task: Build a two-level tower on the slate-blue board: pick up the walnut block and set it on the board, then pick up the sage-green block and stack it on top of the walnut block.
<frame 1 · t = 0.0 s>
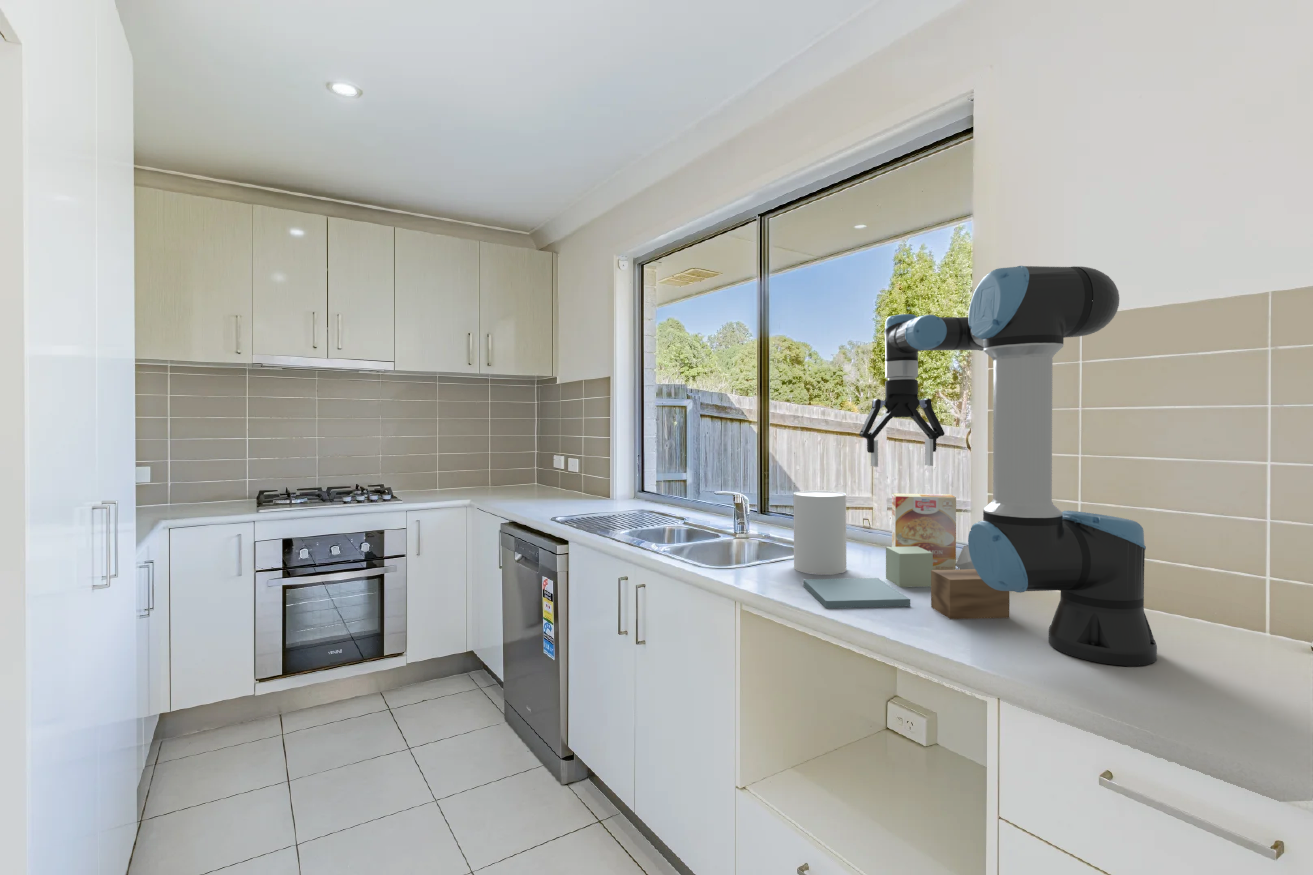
hand: (901, 465, 156), 28 cm above the countertop, tool pointing down, fingers open, 13 cm apart
walnut block: (969, 612, 130), on the countertop
die: (977, 579, 156), on the countertop
sage block: (908, 582, 154), on the countertop
coffeecake box: (923, 568, 168), on the countertop
base board: (853, 595, 143), on the countertop
canister: (819, 569, 169), on the countertop
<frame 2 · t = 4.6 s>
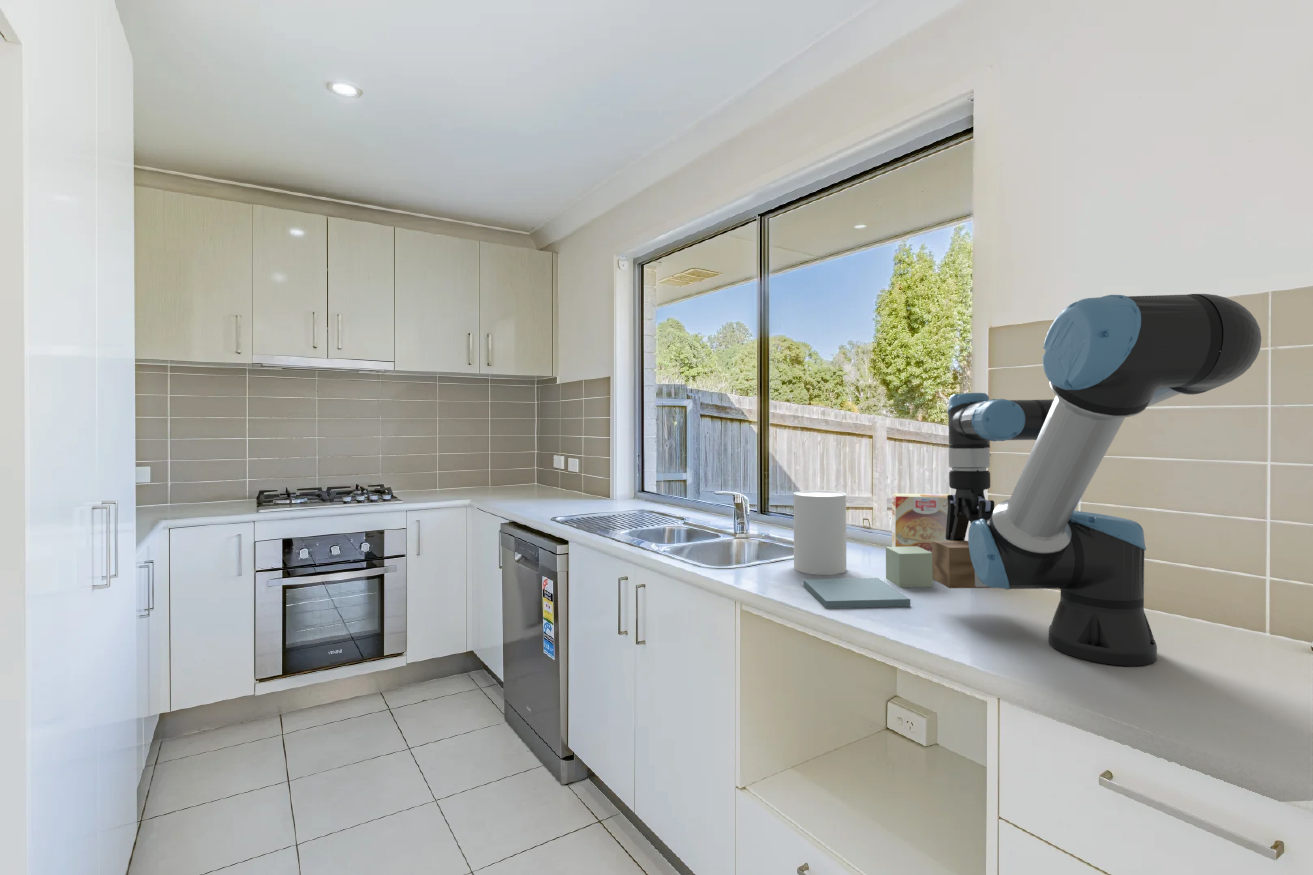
hand: (970, 581, 129), 7 cm above the countertop, tool pointing down, fingers closed on walnut block, 8 cm apart
walnut block: (970, 583, 129), point 6 cm above the countertop, touching gripper
everything else where it was.
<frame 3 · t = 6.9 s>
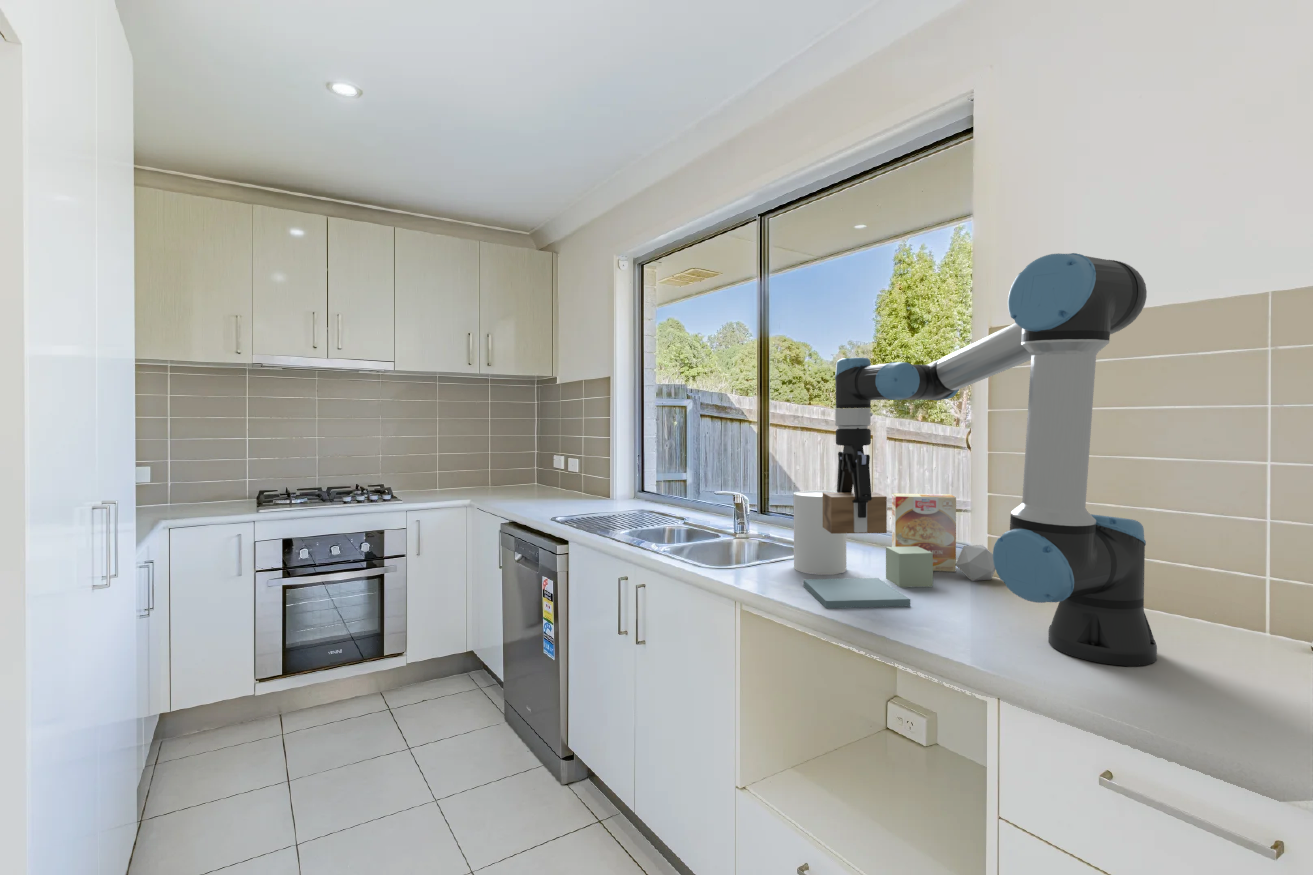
hand: (853, 528, 143), 15 cm above the countertop, tool pointing down, fingers closed on walnut block, 8 cm apart
walnut block: (853, 530, 143), point 15 cm above the countertop, touching gripper
everything else where it was.
when the fingers open (3 cm above the countertop, at t = 9.5 s): walnut block stays where it is, resting on base board.
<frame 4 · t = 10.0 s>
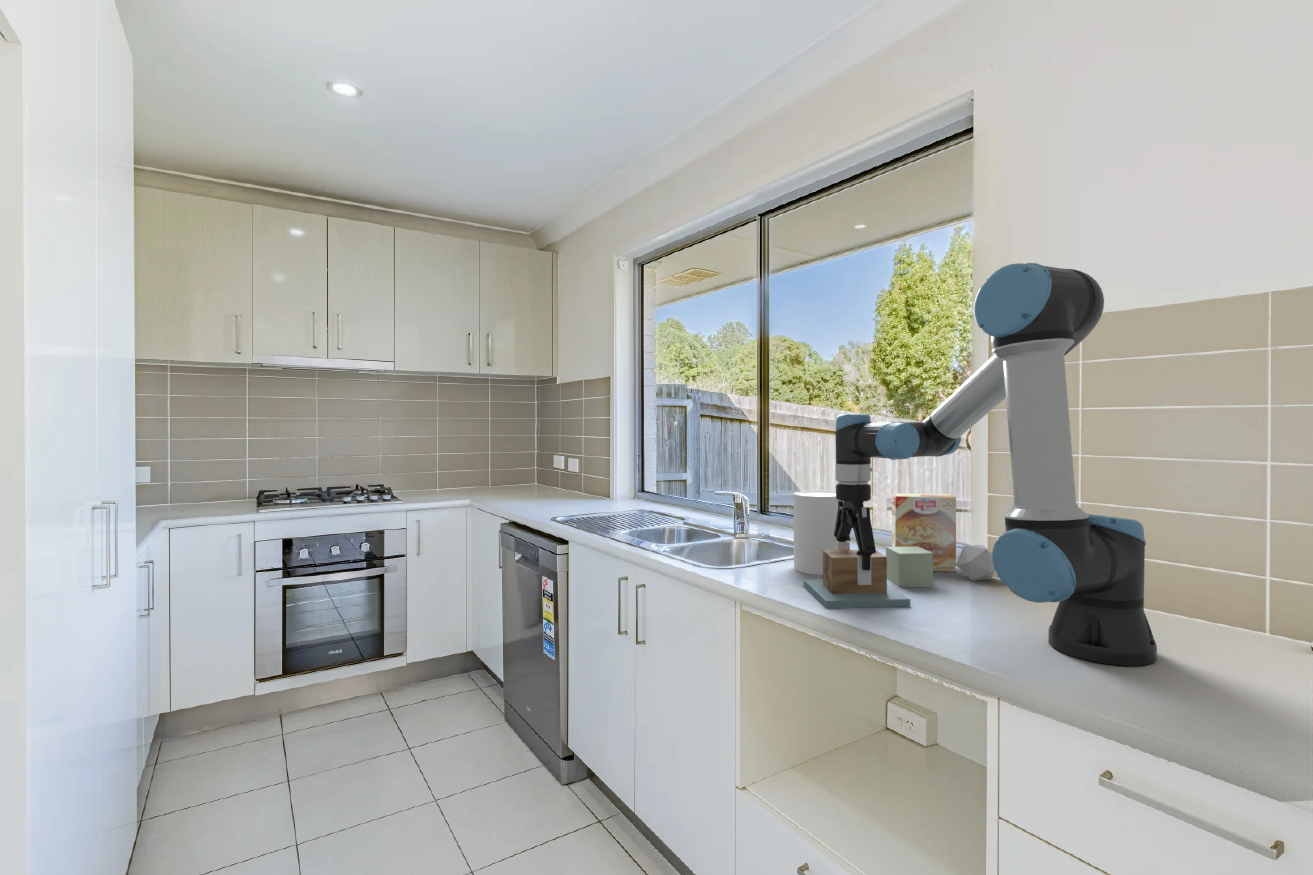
hand: (853, 576, 143), 4 cm above the countertop, tool pointing down, fingers open, 13 cm apart
walnut block: (853, 588, 143), point 1 cm above the countertop, touching base board
everything else where it was.
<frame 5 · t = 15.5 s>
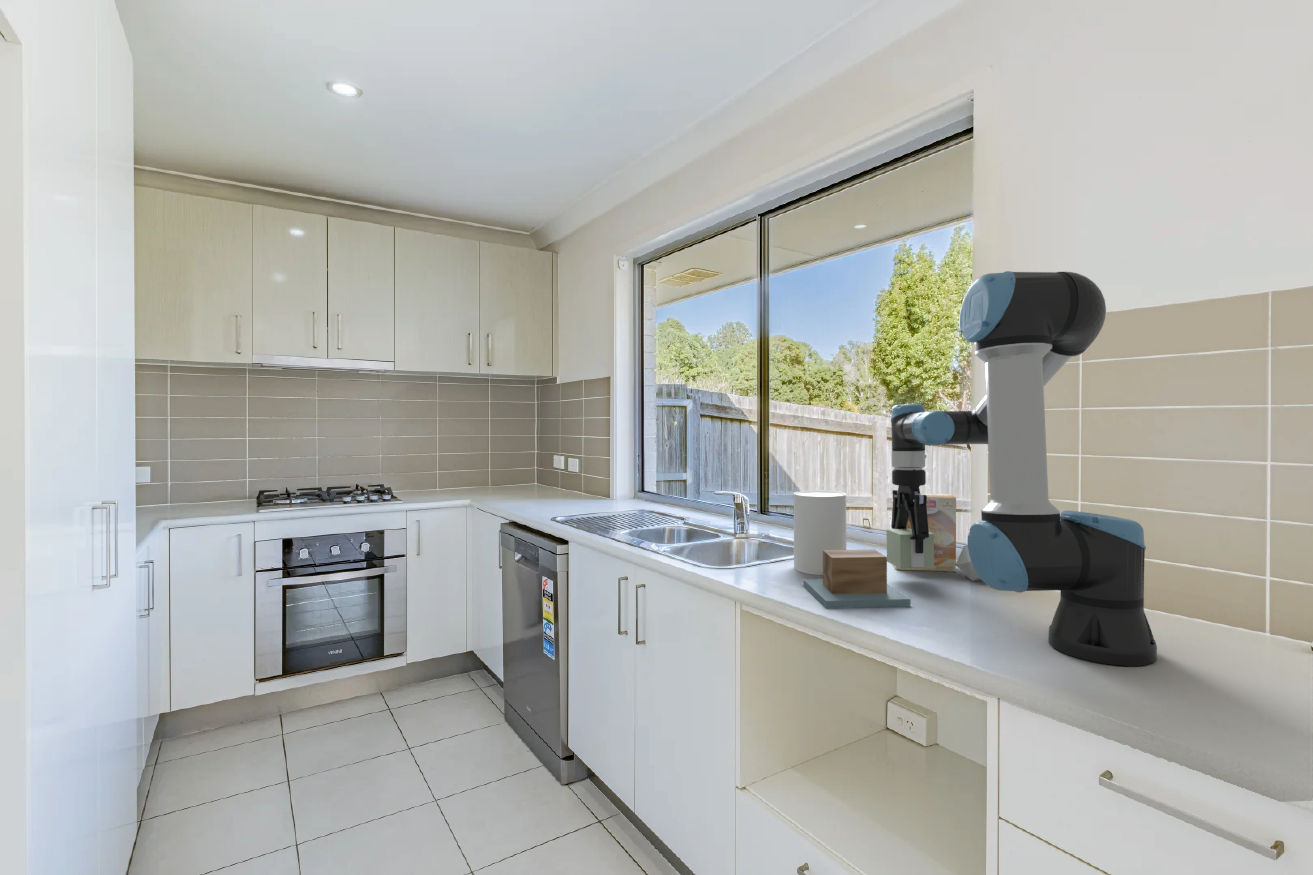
hand: (909, 562, 153), 5 cm above the countertop, tool pointing down, fingers closed on sage block, 8 cm apart
sage block: (909, 564, 153), point 4 cm above the countertop, touching gripper
everything else where it was.
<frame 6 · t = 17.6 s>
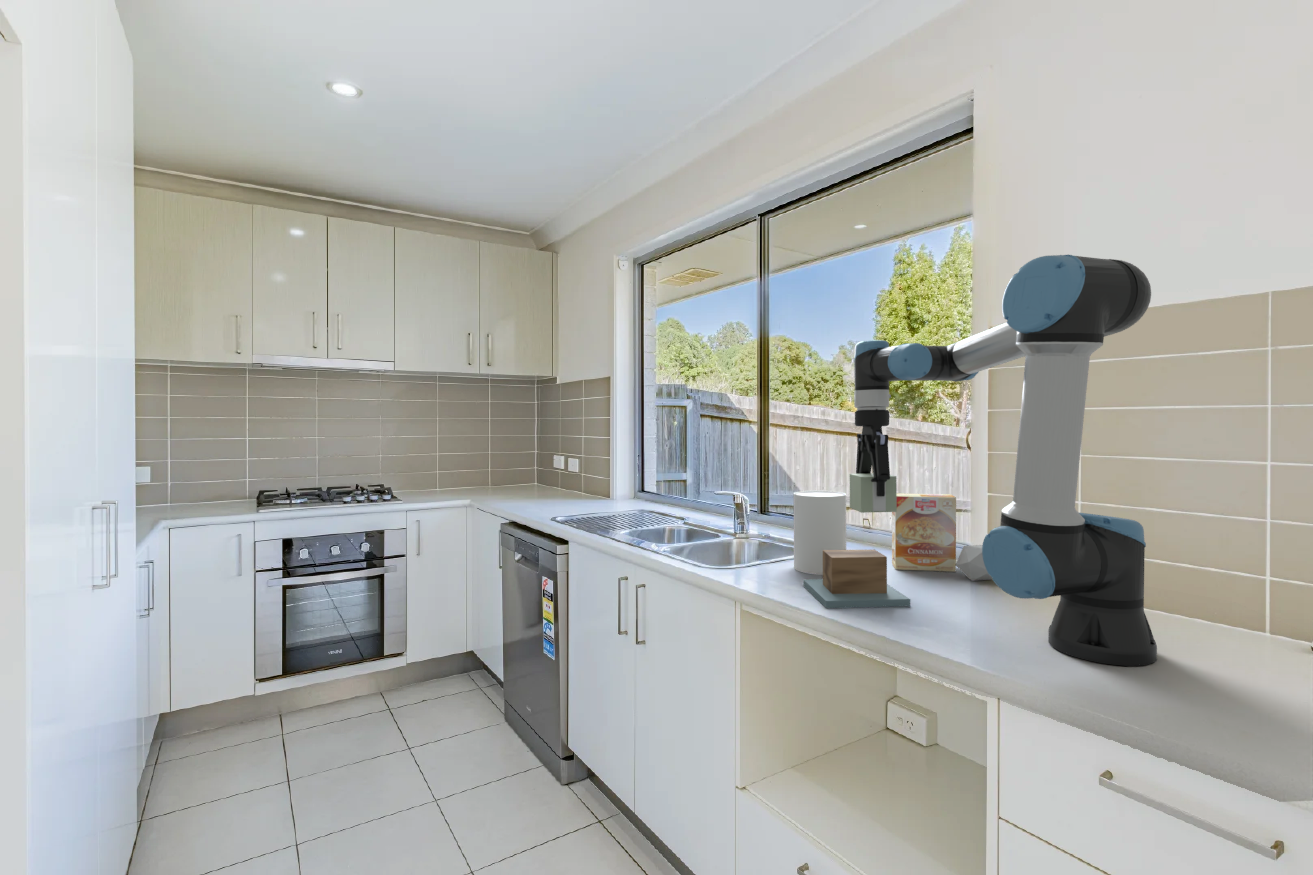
hand: (872, 507, 146), 19 cm above the countertop, tool pointing down, fingers closed on sage block, 8 cm apart
sage block: (872, 509, 146), point 19 cm above the countertop, touching gripper
everything else where it was.
when the fingers open (11 cm above the countertop, at t = 20.2 s): sage block stays where it is, resting on walnut block.
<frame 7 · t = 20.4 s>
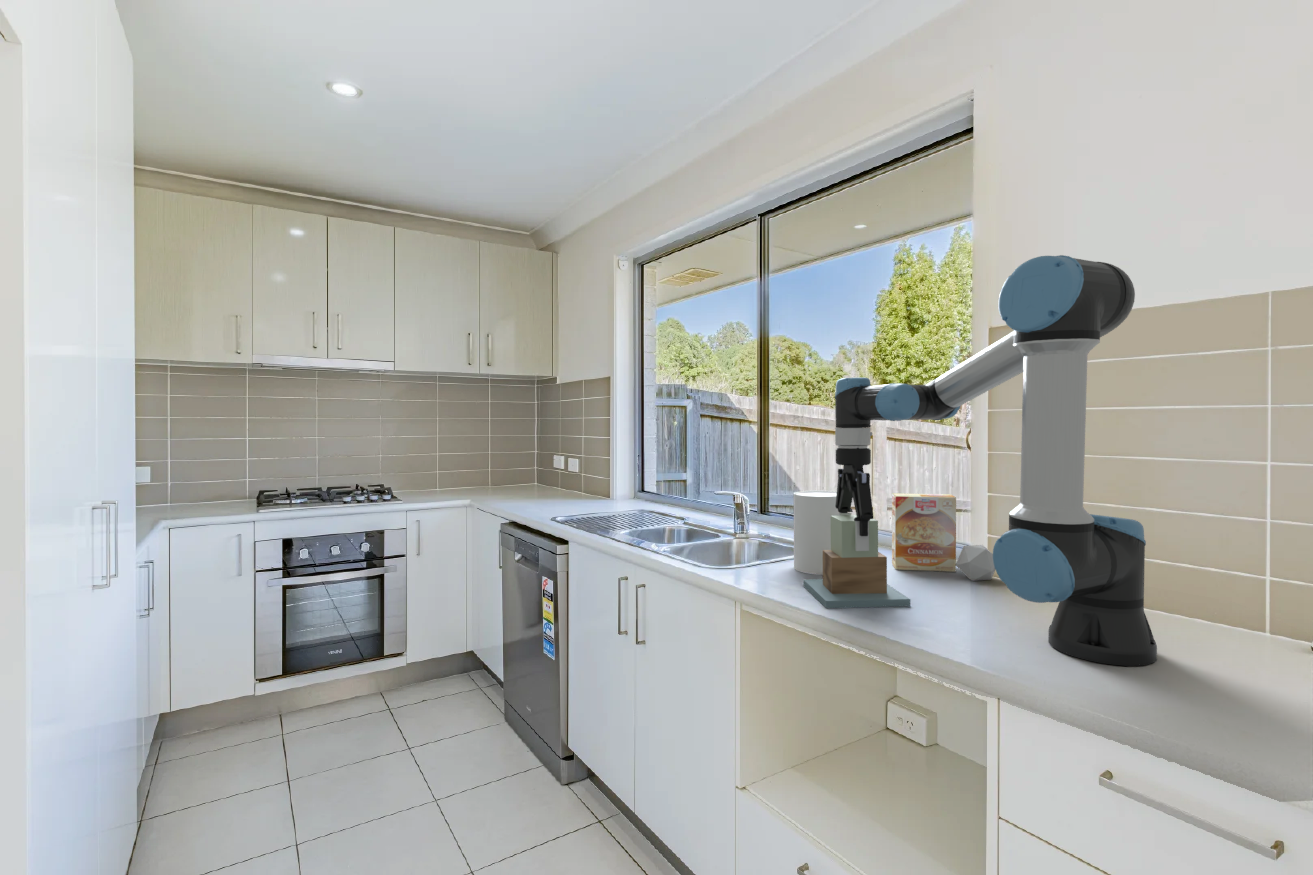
hand: (853, 545, 143), 11 cm above the countertop, tool pointing down, fingers open, 10 cm apart
walnut block: (853, 588, 143), point 1 cm above the countertop, touching base board, sage block
sage block: (853, 553, 143), point 9 cm above the countertop, touching walnut block
everything else where it was.
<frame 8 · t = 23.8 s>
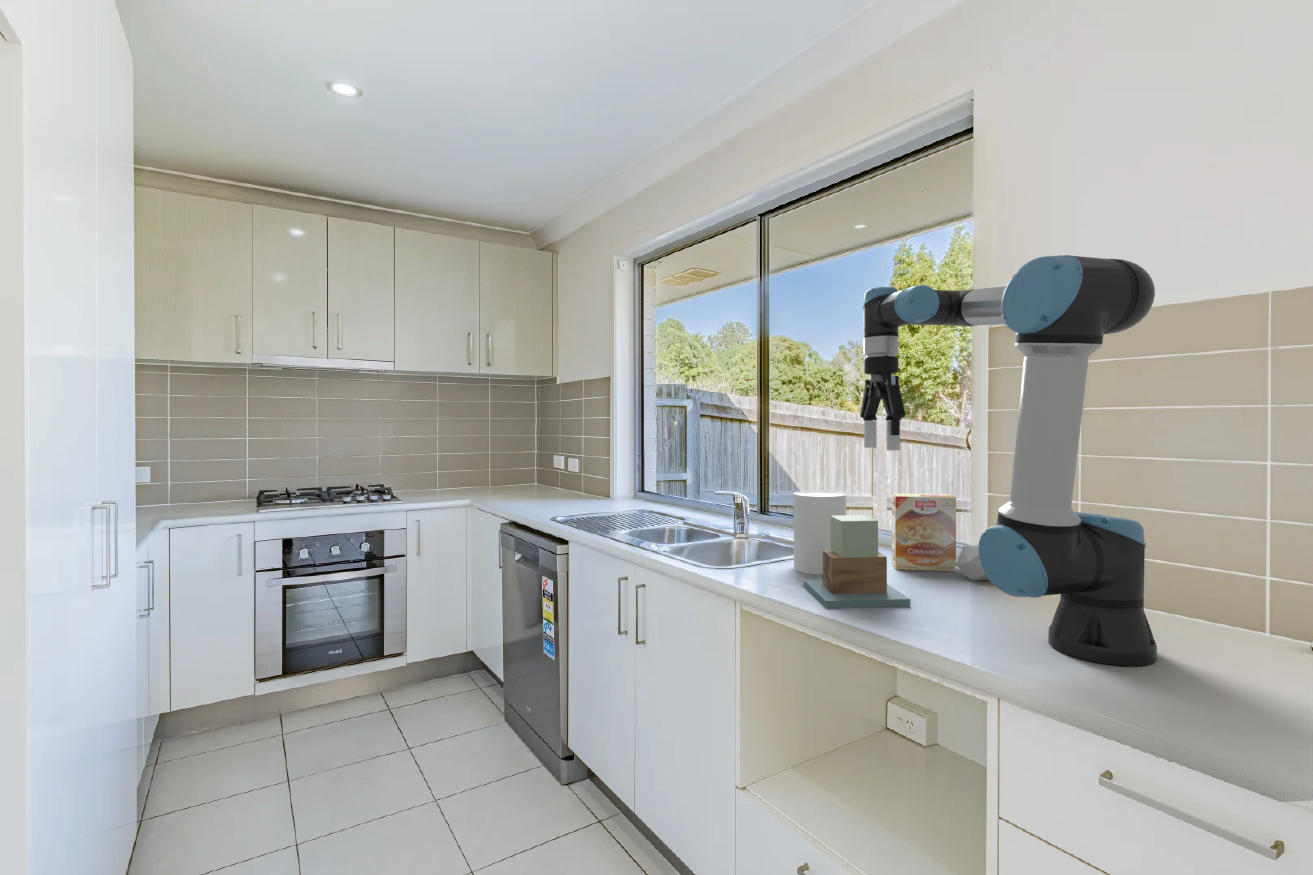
hand: (881, 449, 146), 33 cm above the countertop, tool pointing down, fingers open, 13 cm apart
nothing on the countertop moved.
at the end: walnut block inside the target area on the base board (0.1 cm from its centre), point 1.5 cm above the base board's base; sage block 0.0 cm off-centre on the walnut block, point 8.0 cm above the walnut block's base; sage block tilted 0° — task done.
